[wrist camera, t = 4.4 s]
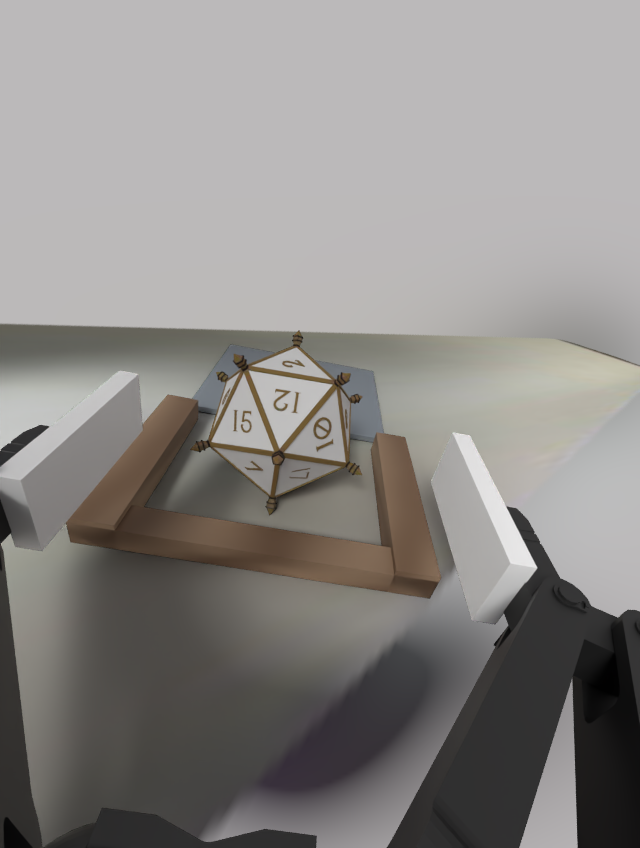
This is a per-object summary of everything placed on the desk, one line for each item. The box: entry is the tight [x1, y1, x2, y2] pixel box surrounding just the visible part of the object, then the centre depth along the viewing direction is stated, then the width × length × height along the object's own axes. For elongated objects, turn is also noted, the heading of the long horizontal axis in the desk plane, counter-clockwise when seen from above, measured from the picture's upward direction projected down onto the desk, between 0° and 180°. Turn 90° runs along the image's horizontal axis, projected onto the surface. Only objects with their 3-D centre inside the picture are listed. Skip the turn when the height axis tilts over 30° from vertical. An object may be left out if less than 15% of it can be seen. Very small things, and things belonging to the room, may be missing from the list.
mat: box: [192, 345, 384, 442], centre depth 32 cm, size 14×12×1 cm
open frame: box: [66, 395, 441, 598], centre depth 21 cm, size 16×11×2 cm
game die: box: [190, 331, 363, 515], centre depth 20 cm, size 9×8×10 cm
